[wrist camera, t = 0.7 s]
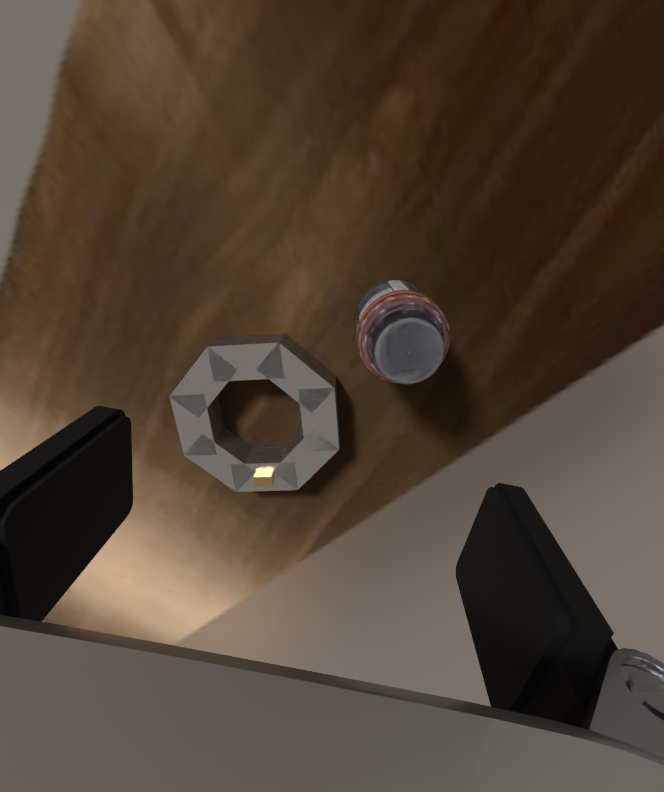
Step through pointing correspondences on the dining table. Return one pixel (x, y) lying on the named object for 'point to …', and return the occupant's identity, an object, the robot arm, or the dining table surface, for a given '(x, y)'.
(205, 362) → the grey octagonal ring
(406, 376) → the supplement bottle
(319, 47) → the dining table surface
